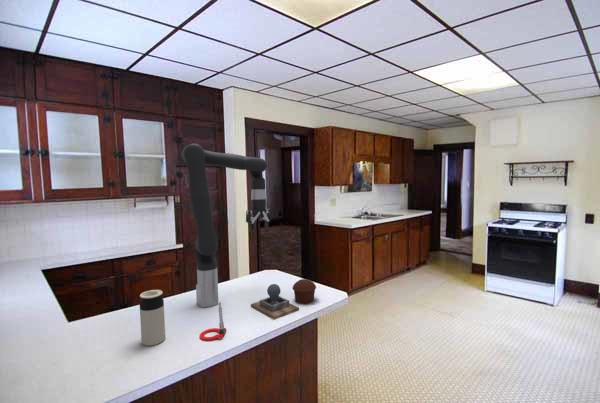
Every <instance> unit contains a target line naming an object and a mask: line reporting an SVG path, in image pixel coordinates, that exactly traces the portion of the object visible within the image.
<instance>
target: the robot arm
mask: <svg viewBox="0 0 600 403" xmlns="http://www.w3.org/2000/svg"><path fill="white" fill-rule="evenodd" d="M181 158H182V160H183V161H184V163H186V167H187V171H188V178H189V180H188V197H189V198H188V199H189V205H190V209H191V213H192V216H193V219H194V222H195V224H196V229H197V238H196V239H195V241H194V254H195V257H194V258H195V263H196V277H197V279H196V280H197V281H196V282H197V284H195V295H196V304H197V305H198V306H199V307H200V308H211V307H214V306H216V305H217V304H218V305H219V283H218V279H219V278H218V261H217V258H216V252H217V251H218V247H219V242H218V239H217V235H216V230H215V227H214V217H213V210H212V207H213V206H212V201H211V193H210V188H209V182H208V178H207V174H206V165H209V166H210V165H211V166H218V167H222V168H227V169H231V170H232V169H233V170H239V171H240V170H241V171H249V176H250V180H251V194H250V195H251V196H250V199H251V201H250V203H251V204H250V205H251V210H246V211H245V223H248V224H249V230H250V232H255V222H256V221H257V219H263V220H264V230H268V229H269V228H270V223H269V222H271V221H272V220H273V213H272V208H267V192H266V191H267V190H266V179H265V178H264V175H263V174H264V172H265V171H266V170H267V168H268V164H267V160H265V159H263V158H262V157H261V158H260V157H254V156H246V155H245V156H244V155H241V154H235V153H225V152H215V151H210V150H205V149H203V147H202V146H201V144H198V143H188V145H186V146H185V147H184V148H182V150H181Z"/></svg>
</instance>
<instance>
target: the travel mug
mask: <svg viewBox="0 0 600 403" xmlns="http://www.w3.org/2000/svg"><path fill="white" fill-rule="evenodd" d="M163 293H164V292H163V290H161V289H150V290H146V291H143V292H142V293H140V295H139V297H140V299H141V300H140V302H139V315H140V317H139V318H140V320H139V321H140V336H141V337H140V339H141V340H140V341H141V345H143V346H147V347H148V346H149V347H151V346H153V347H154V346H156V345H159V344H160V343H162V342H164V341H165V340H166V321H165V303H164V298H163V296H162V295H163Z"/></svg>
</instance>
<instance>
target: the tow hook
mask: <svg viewBox="0 0 600 403" xmlns="http://www.w3.org/2000/svg"><path fill="white" fill-rule="evenodd" d="M218 318H219V323H218V324H219V326H218V328H215V327H213V328H208V329H205V330H204V331H201V333H200V334H199V339H200V340H201V341H204V342H206V341H207V342H208V341H214V340H219V341H220V340H222V338H224V336H225V334H226V333H227V328H226V327H225V324H224V323H225V322H224V318H223V307H222V303H221V301H220V302H219V301H218ZM213 332H214V333H215V332H216V333H218V334H215V335H213V336H205V335H206V334H208V333H213Z"/></svg>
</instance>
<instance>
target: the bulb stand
mask: <svg viewBox="0 0 600 403" xmlns="http://www.w3.org/2000/svg"><path fill="white" fill-rule="evenodd" d="M250 307H251V309H252V308H253V310H256V311H258V312H260V313H261V314H263V315H265V316H266V317H268V318H270V319H272V320H276V319H279V318H281V317H285V316H287V315H290V314H292V313H296V312H297V311H299V310H300V307H299V306H296V305H295V304H293V303H290V300H289V299H287V298H285V297H282V296H280V295H279V296H278V300H277V304H275V305H272V304H271V300H270V297H269V296H268V297H266V298H263V299H262V298H261V299H260V300H259V301H257V302H256V301H255V302H253V303H250Z"/></svg>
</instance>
